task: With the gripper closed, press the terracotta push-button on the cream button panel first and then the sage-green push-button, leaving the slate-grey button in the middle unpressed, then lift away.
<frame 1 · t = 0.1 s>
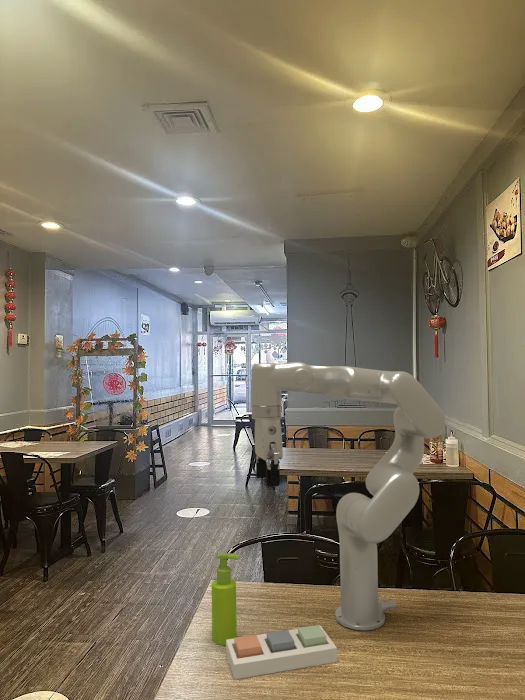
hand: (267, 481, 123), 37 cm above the table, tool pointing down, fingers open, 9 cm apart
sage button: (311, 636, 113), point 3 cm above the table, slide at 0.0 cm
slate button: (280, 641, 111), point 4 cm above the table, slide at 0.0 cm
terracotta button: (247, 646, 109), point 4 cm above the table, slide at 0.0 cm
button panel: (280, 657, 111), on the table
soap dispenser: (226, 639, 119), on the table
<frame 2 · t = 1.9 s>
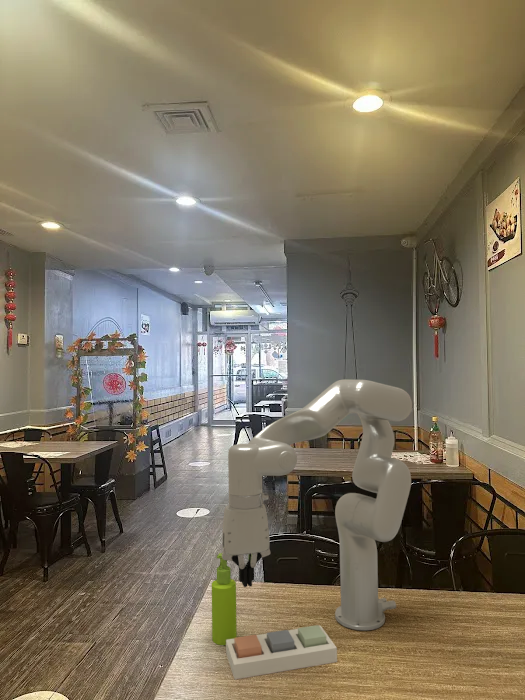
hand: (246, 584, 110), 17 cm above the table, tool pointing down, fingers closed
nothing on the table moved.
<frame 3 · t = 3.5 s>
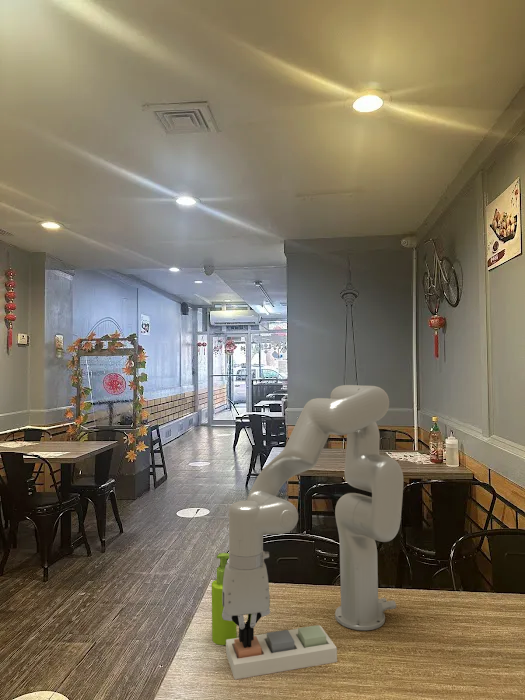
hand: (246, 643, 109), 4 cm above the table, tool pointing down, fingers closed
terracotta button: (247, 648, 109), point 3 cm above the table, slide at 0.4 cm, touching gripper
everything else where it was.
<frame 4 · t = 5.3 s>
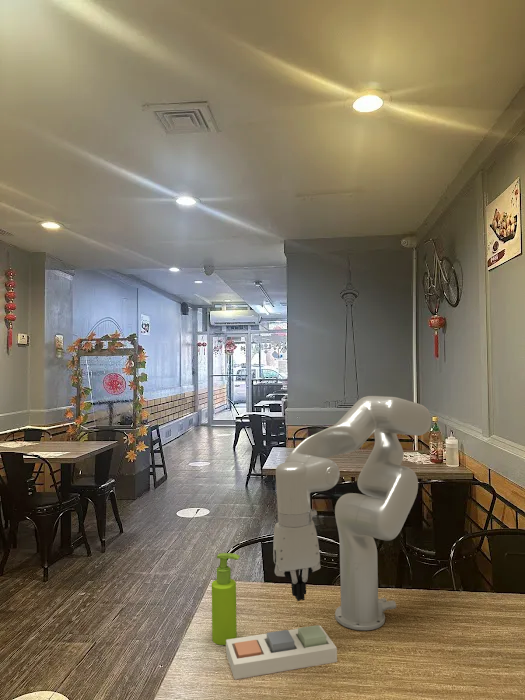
hand: (299, 597, 113), 12 cm above the table, tool pointing down, fingers closed
terracotta button: (247, 651, 109), point 2 cm above the table, slide at 1.2 cm
everything else where it was.
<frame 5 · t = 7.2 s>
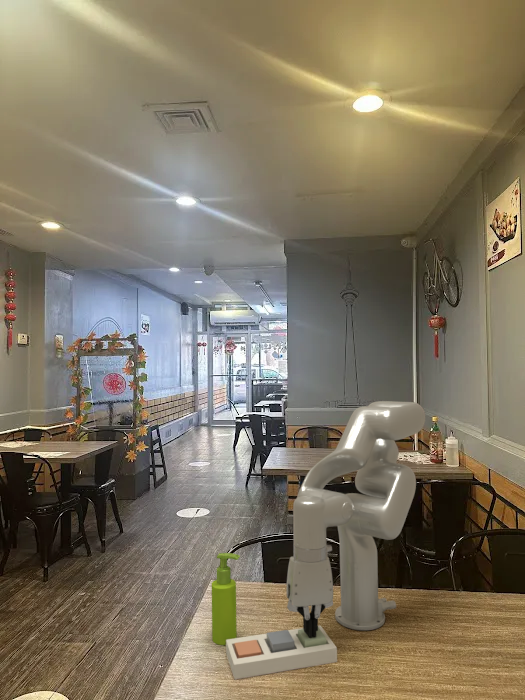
hand: (310, 634, 113), 4 cm above the table, tool pointing down, fingers closed
sage button: (311, 638, 113), point 3 cm above the table, slide at 0.4 cm, touching gripper
everything else where it was.
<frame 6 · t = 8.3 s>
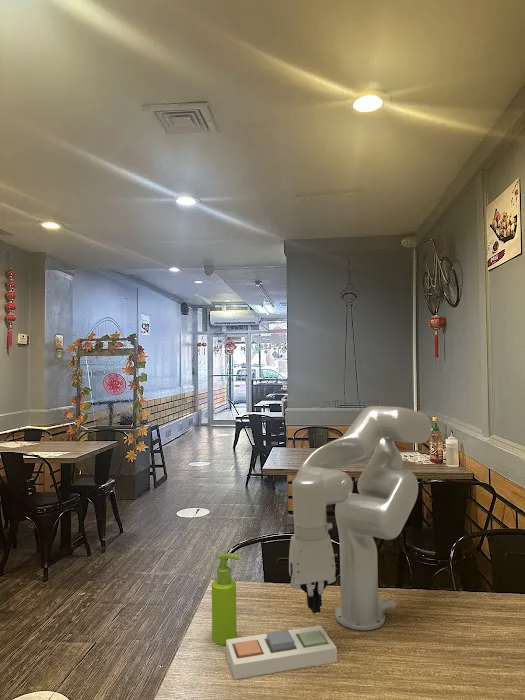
hand: (314, 609, 114), 9 cm above the table, tool pointing down, fingers closed
sage button: (312, 641, 113), point 2 cm above the table, slide at 1.2 cm
everything else where it was.
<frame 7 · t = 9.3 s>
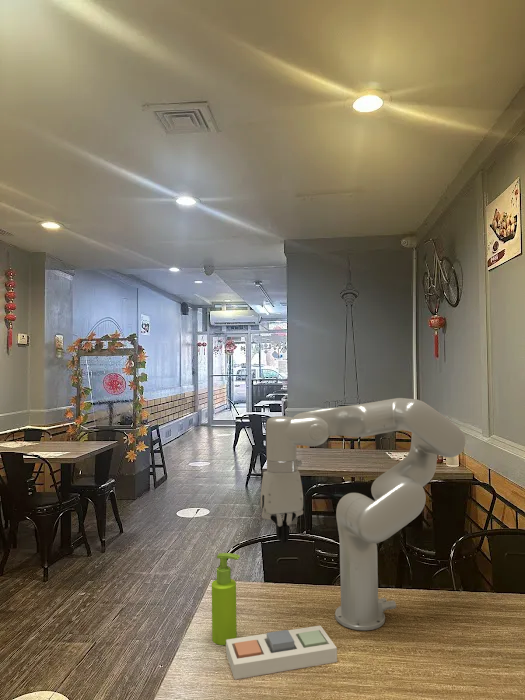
hand: (283, 540, 124), 22 cm above the table, tool pointing down, fingers closed
nothing on the table moved.
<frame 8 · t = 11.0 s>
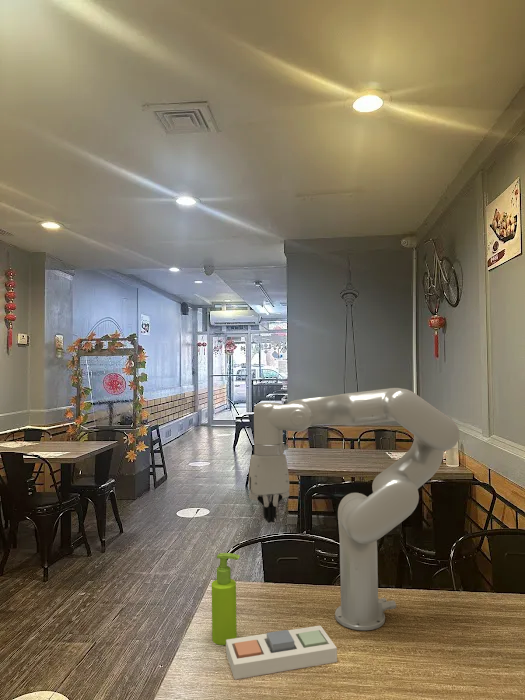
hand: (269, 520, 129), 25 cm above the table, tool pointing down, fingers closed
nothing on the table moved.
at the end: terracotta button slide at 1.2 cm; sage button slide at 1.2 cm; slate button slide at 0.0 cm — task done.
